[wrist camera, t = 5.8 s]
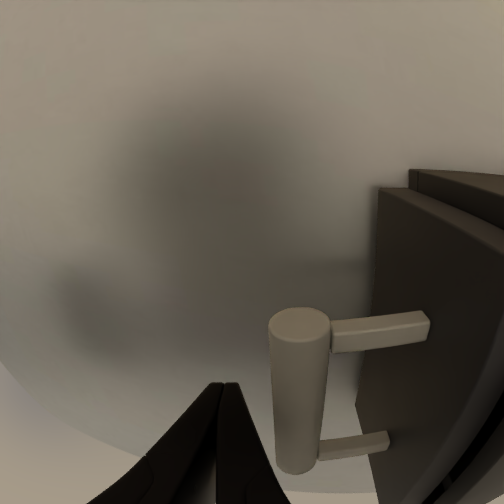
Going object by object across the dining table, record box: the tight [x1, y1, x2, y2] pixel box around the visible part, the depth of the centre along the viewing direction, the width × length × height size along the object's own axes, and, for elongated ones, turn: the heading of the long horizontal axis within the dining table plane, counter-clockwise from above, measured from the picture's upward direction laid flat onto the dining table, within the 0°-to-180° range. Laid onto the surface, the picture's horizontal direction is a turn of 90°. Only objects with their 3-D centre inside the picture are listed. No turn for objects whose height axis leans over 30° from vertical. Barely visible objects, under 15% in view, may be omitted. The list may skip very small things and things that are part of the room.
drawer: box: [268, 188, 504, 504], centre depth 8 cm, size 15×10×7 cm
